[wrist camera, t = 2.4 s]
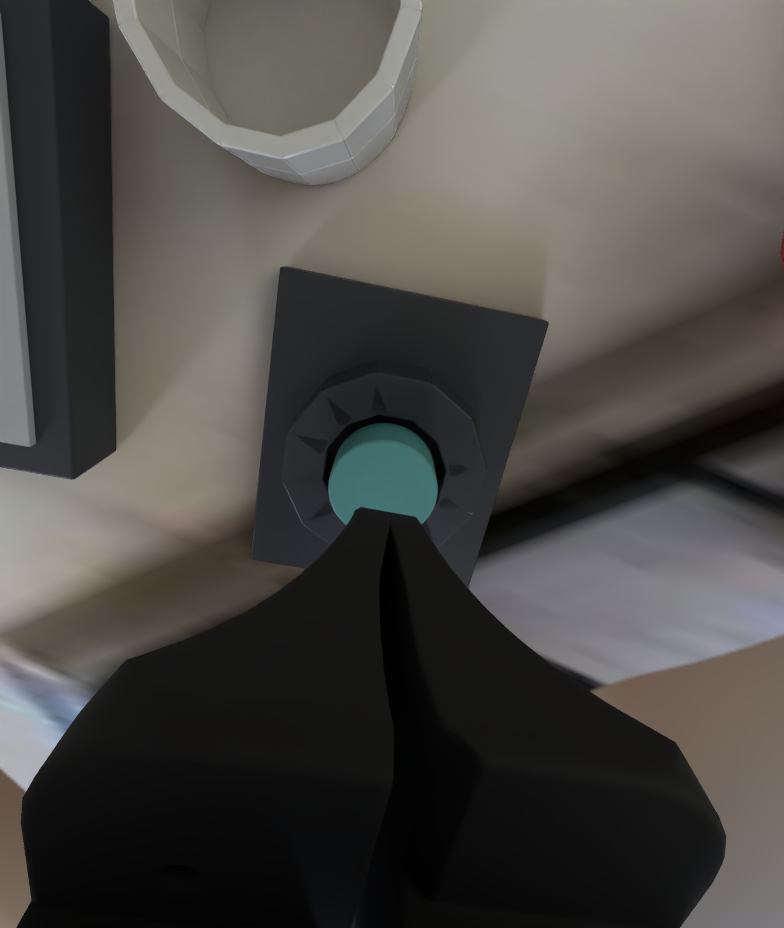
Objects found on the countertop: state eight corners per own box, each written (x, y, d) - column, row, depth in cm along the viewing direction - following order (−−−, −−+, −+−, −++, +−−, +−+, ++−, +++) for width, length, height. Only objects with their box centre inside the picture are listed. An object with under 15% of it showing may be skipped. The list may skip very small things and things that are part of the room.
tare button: (422, 521, 16) (424, 547, 14) (327, 504, 16) (320, 529, 14) (444, 432, 15) (449, 451, 13) (342, 413, 14) (336, 430, 13)
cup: (393, 204, 14) (392, 183, 10) (191, 160, 14) (103, 119, 10) (438, -49, 12) (459, -209, 8) (201, -110, 12) (93, -310, 8)
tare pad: (463, 584, 19) (473, 629, 17) (255, 549, 19) (235, 590, 16) (543, 319, 15) (569, 330, 13) (284, 266, 15) (264, 267, 13)
